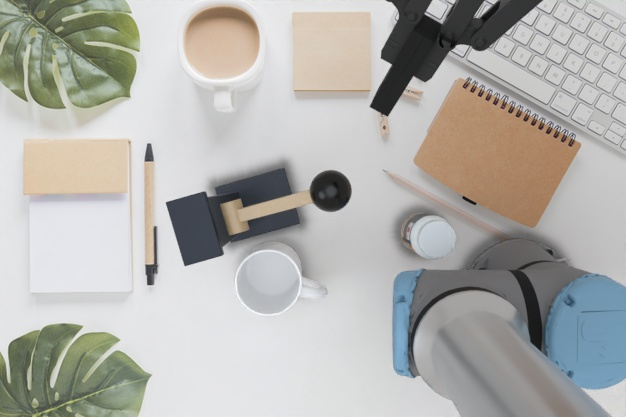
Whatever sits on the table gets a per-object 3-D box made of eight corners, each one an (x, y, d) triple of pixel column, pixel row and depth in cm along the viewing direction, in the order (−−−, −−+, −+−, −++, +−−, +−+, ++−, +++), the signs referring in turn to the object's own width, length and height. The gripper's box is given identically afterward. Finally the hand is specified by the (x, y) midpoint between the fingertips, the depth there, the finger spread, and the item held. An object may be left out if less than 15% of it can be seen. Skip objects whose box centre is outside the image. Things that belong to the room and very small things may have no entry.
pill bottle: (397, 249, 77) (410, 258, 68) (404, 209, 77) (418, 213, 67) (436, 255, 78) (455, 266, 68) (443, 215, 77) (464, 220, 67)
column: (239, 187, 75) (204, 191, 49) (251, 229, 76) (222, 255, 49) (214, 195, 75) (165, 202, 49) (226, 236, 76) (184, 266, 49)
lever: (351, 163, 47) (336, 167, 44) (362, 203, 48) (348, 209, 44) (230, 198, 53) (209, 203, 50) (241, 233, 53) (220, 241, 50)
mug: (334, 258, 77) (339, 270, 67) (316, 313, 78) (318, 334, 67) (254, 232, 77) (246, 240, 67) (236, 288, 77) (225, 304, 67)
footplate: (284, 167, 77) (284, 167, 75) (300, 222, 77) (299, 223, 76) (215, 187, 77) (214, 187, 75) (231, 242, 77) (230, 243, 76)
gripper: (754, -249, 25) (468, 117, 42) (507, -396, 25) (320, 35, 42) (801, -232, 20) (453, 176, 37) (490, -417, 19) (284, 84, 37)
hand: (383, 101), depth 39 cm, fingers closed
